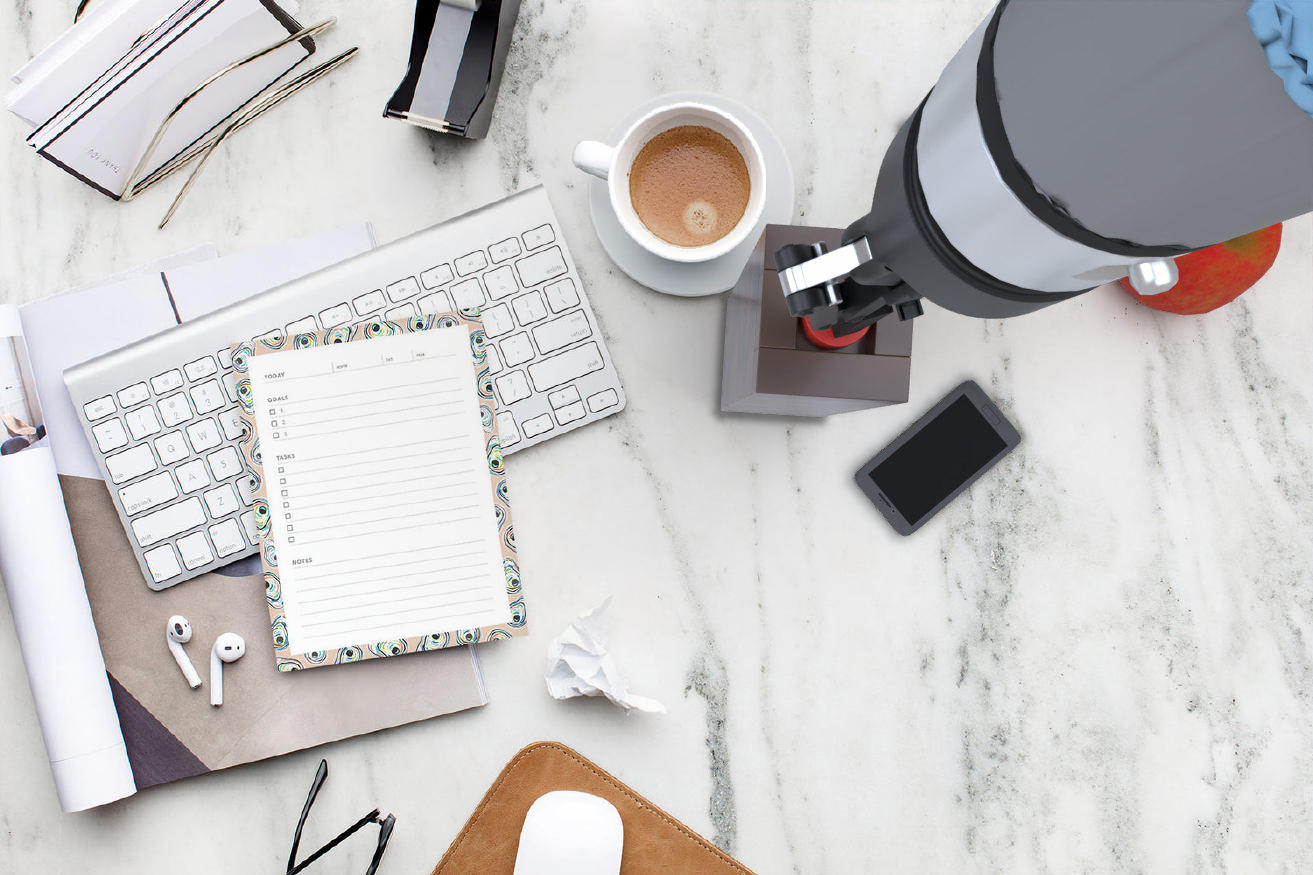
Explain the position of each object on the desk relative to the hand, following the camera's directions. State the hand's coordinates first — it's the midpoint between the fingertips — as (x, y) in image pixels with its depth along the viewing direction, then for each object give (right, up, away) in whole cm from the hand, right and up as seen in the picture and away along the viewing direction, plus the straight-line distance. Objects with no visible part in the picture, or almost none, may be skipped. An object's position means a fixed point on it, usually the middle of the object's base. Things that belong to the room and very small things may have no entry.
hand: (840, 312), depth 45 cm
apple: (+35, +9, +25) cm, 43 cm away
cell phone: (+14, -9, +25) cm, 30 cm away
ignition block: (0, 0, +25) cm, 25 cm away
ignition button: (0, 0, +1) cm, 1 cm away
